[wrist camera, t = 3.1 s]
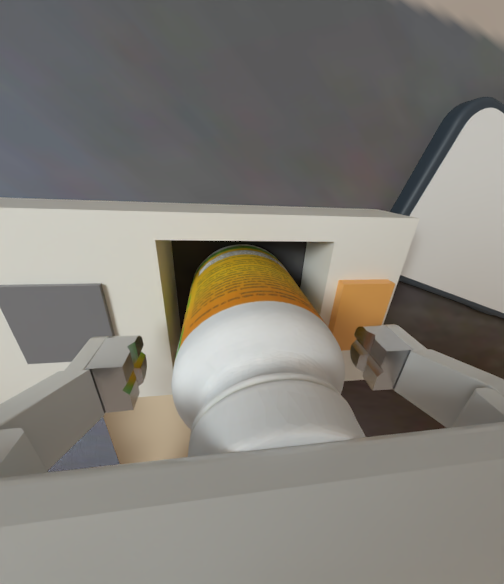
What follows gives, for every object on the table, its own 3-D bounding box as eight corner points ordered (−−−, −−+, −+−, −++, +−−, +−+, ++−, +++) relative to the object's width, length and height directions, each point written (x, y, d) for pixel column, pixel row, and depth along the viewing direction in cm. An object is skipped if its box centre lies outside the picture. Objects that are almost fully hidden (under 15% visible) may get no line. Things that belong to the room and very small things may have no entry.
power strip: (-70, 369, 13) (-161, 430, 10) (-201, 191, 9) (-421, 199, 6) (340, 346, 16) (369, 386, 13) (375, 209, 12) (429, 220, 9)
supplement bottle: (174, 262, 12) (73, 474, 4) (273, 227, 12) (415, 358, 3) (213, 339, 15) (210, 574, 6) (295, 311, 15) (411, 509, 6)
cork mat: (132, 489, 20) (130, 494, 20) (98, 390, 15) (95, 395, 15) (268, 471, 22) (268, 476, 22) (280, 377, 17) (281, 381, 16)
